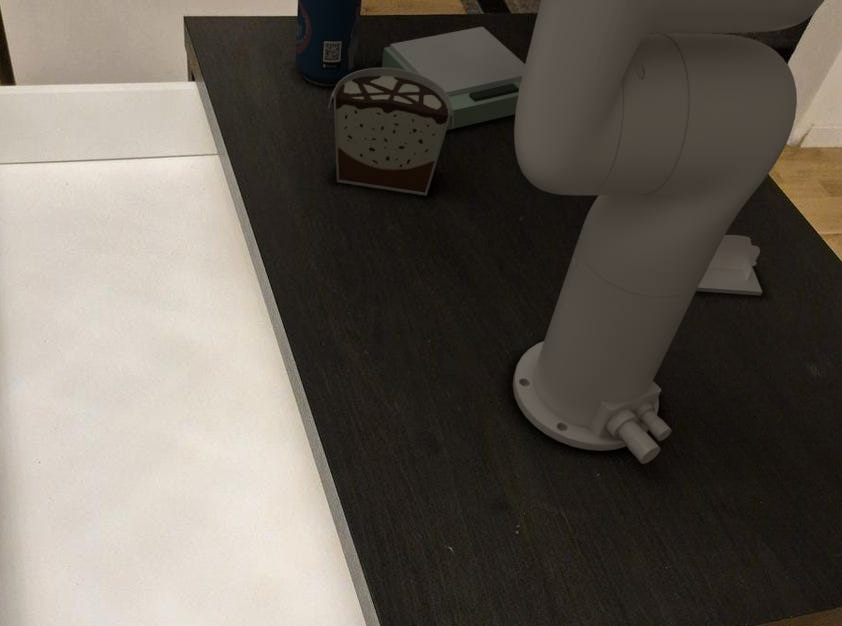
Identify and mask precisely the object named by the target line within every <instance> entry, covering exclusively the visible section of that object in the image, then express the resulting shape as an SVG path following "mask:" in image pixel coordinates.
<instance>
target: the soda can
mask: <svg viewBox="0 0 842 626" xmlns="http://www.w3.org/2000/svg"><path fill="white" fill-rule="evenodd" d="M361 9H362V0H297V11H296V12H297V13H296V14H297V15H296V34H295V35H296V37H295V38H296V40H295V63H296V66H297V69H298V70H299V72H300V74H301V75H302V77H303V78H304V79H305V80H306V81H308V82H309V83H311V84H314V85H317V86H322V87H336V85H337V84H338V83H339V81H340V80H342V79H343V78H344V77H345V76H347V75H349V74H351V73H353V72H355V70H356V68H357V58H358V57H357V56H358V46H359V35H360V24H361V15H362V14H361V13H362V12H361V11H362V10H361Z"/></svg>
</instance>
